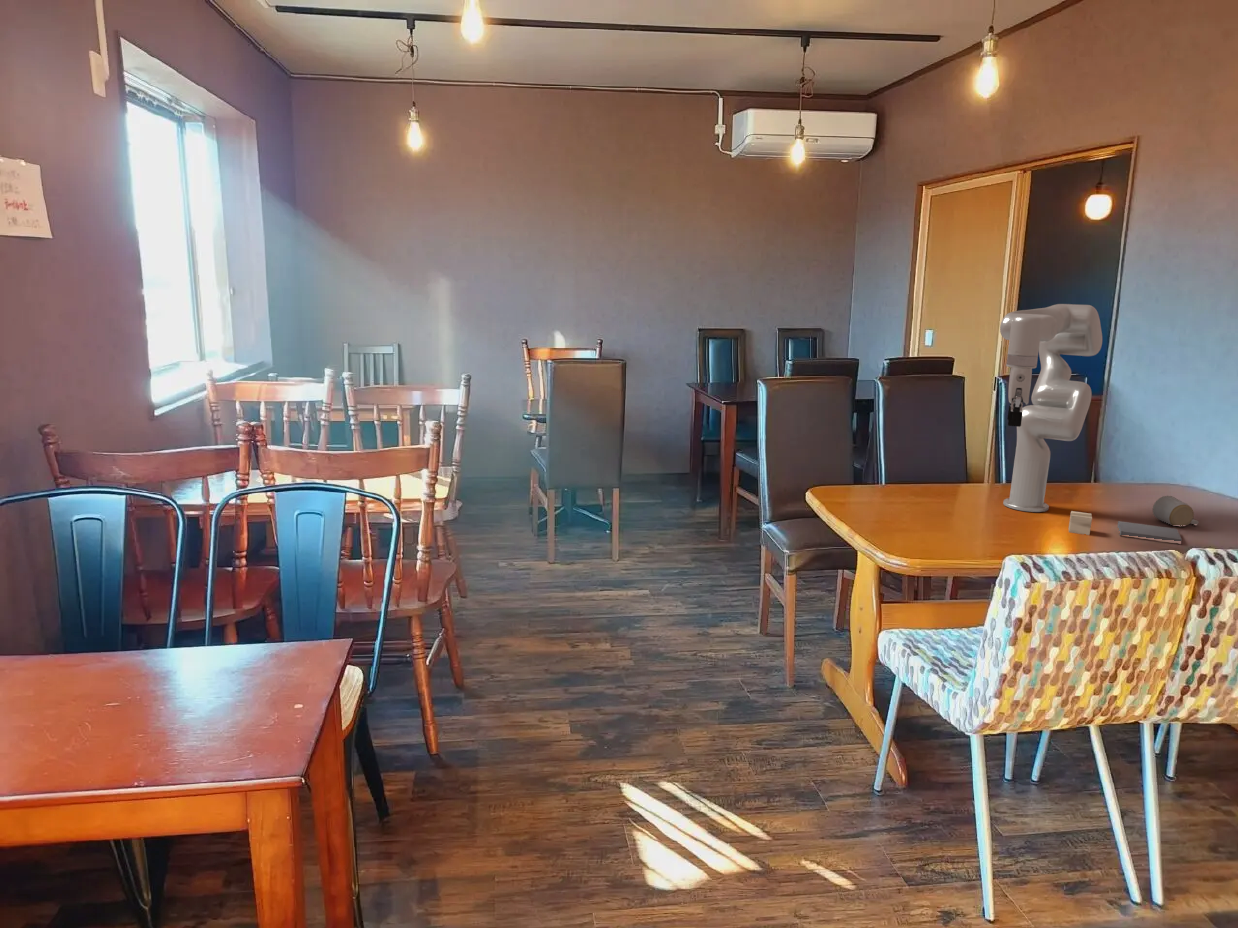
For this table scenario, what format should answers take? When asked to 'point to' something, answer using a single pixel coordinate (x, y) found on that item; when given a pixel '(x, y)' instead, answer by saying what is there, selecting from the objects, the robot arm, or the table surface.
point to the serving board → (1148, 531)
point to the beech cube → (1080, 523)
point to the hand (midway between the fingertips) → (1013, 423)
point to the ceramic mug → (1173, 511)
